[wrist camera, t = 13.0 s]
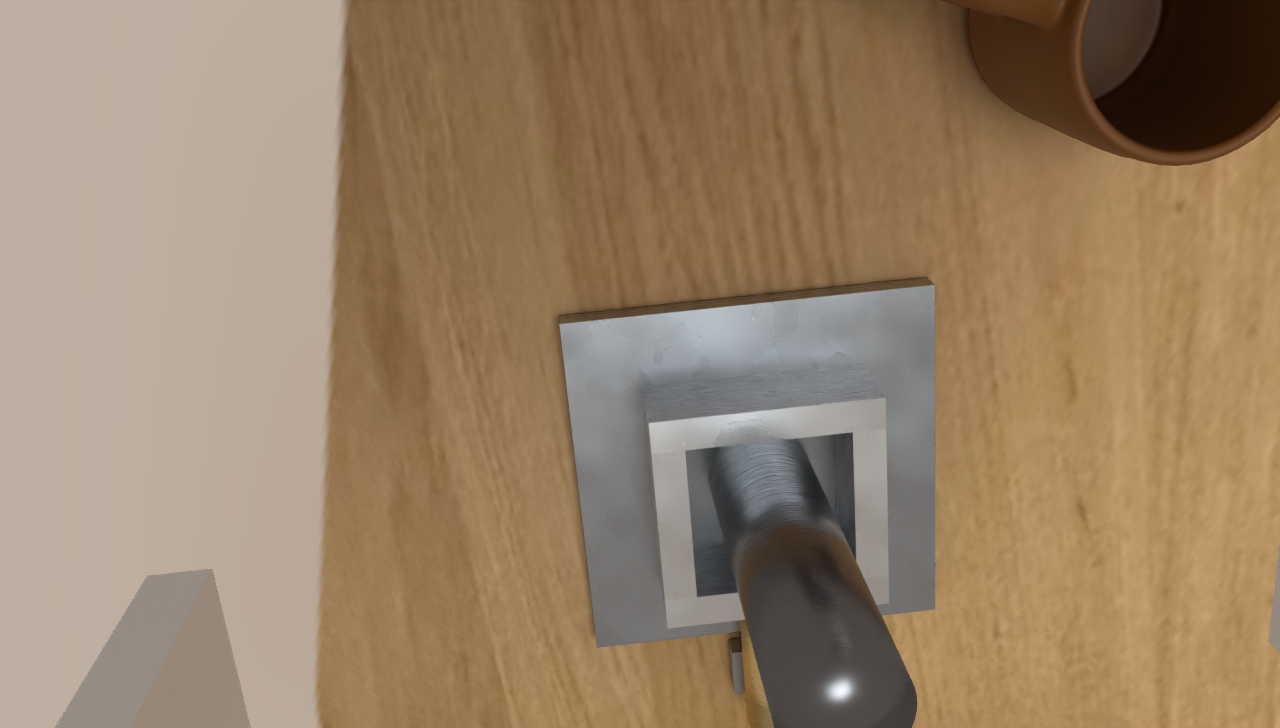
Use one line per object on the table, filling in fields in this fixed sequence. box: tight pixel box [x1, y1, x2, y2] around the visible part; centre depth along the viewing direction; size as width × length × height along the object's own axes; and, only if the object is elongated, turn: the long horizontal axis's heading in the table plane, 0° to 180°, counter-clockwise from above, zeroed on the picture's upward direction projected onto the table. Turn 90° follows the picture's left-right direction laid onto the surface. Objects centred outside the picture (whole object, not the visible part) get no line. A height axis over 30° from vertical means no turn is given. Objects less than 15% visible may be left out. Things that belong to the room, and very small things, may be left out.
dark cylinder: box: [709, 439, 917, 728], centre depth 40 cm, size 4×4×15 cm
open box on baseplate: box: [559, 277, 935, 728], centre depth 47 cm, size 18×14×4 cm
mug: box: [942, 0, 1280, 166], centre depth 38 cm, size 12×8×9 cm, turn 75°
